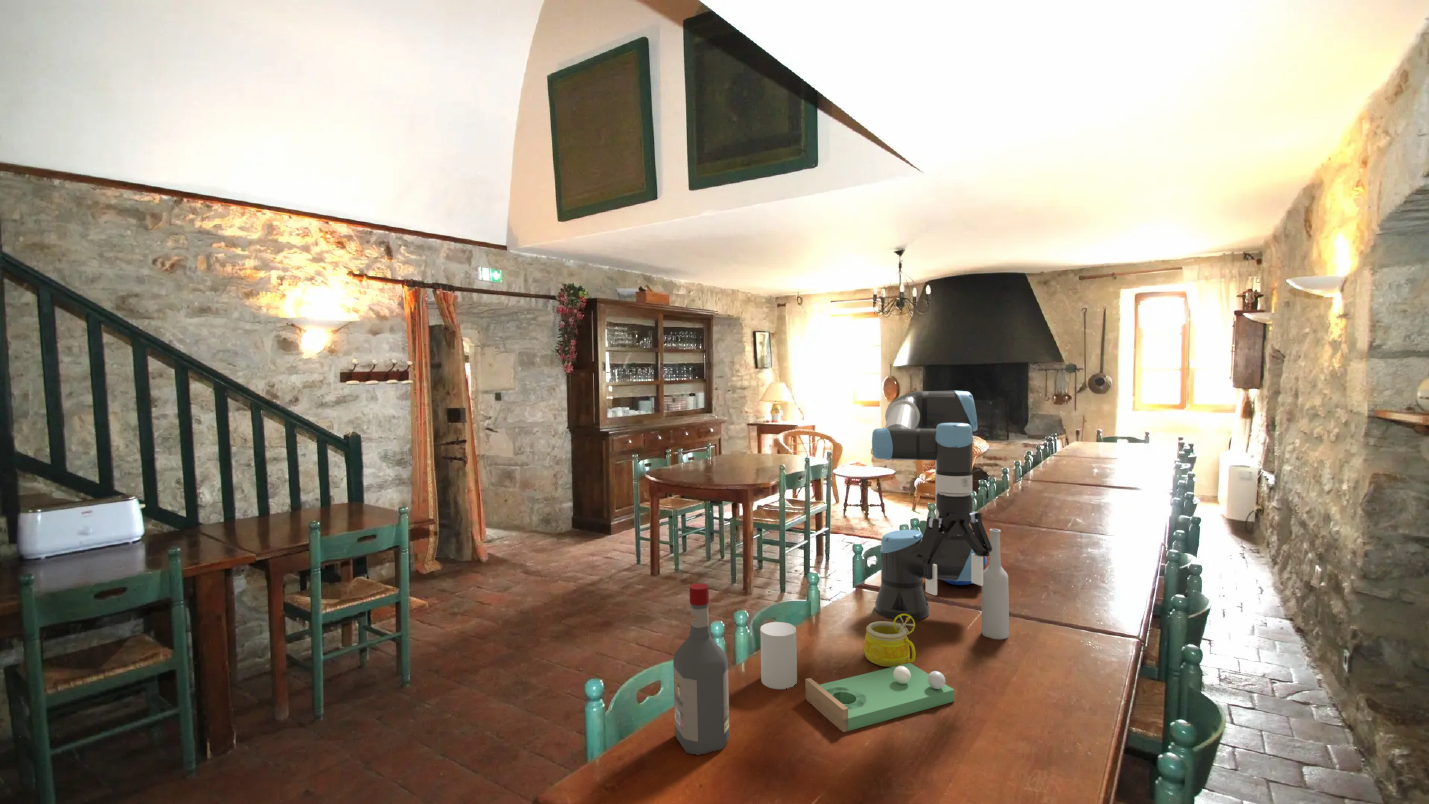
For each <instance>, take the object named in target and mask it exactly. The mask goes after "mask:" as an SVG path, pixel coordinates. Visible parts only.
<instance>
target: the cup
mask: <svg viewBox="0 0 1429 804" xmlns="http://www.w3.org/2000/svg"><path fill="white" fill-rule="evenodd" d="M759 631H760V675H761V676H760V679H761V683H762V684H763V686H764V687H767V688H769V689H772V690H773V689H774V690H786V688H787V689H791V688H793V687H795V686H796V685H797V683H798V668H797V666H798V664H797V663H798V662H797V661H798V660H797V655H798V653H797V652H798V651H797V647H798V646H797V627H796V626H795V625H793V624H791V623H788V622H783V621H771V622H767V623H764V624H763V625H761V626H760V630H759ZM795 684H796V685H795ZM794 685H795V686H794ZM790 687H791V688H790Z"/></svg>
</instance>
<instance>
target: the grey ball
mask: <svg viewBox="0 0 1429 804" xmlns="http://www.w3.org/2000/svg"><path fill="white" fill-rule="evenodd" d="M928 674H929V675H928V683H929V685H930V686H931V687H932V688H934V689H942V688H943V687H944V685H945V684H946V677H945V676H944V674H943V673H942V672H940V671H937V670H933V671H931V672H930V673H928Z"/></svg>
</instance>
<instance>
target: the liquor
mask: <svg viewBox="0 0 1429 804" xmlns="http://www.w3.org/2000/svg"><path fill="white" fill-rule="evenodd" d="M709 594H710V592H709V585H708V584H706V583H700V582H699V583H698V582H697V583H692V584H690V585H689V603H690V630H689V636H687V638H686V640H684V641H683V642H682V644H681V645H680V646H678V648H677V650H676V651H675V653H674V654H673V659H672V661H673V664H672V665H673V666H672V667H673V668H672V669H673V704H674V705H673V706H674V736H675V737H676V739H677V741H678V742H679V744H680V745H681V747H682V749H683V750H684V751H685V753H686V754H689V755H694V754H696V755H695V756H702V755H701V754H703V755H705V754H709V753H713V752H717V751H721V750H724V748H725V746H726V744H727V742H728V741H729V740H730V705H729V704H730V702H729V701H730V697H729V694H730V693H729V691H730V689H729V687H730V686H729V660H728V656H727V654H726V652H725V651H724V650H723V648H721V646H720V645H719V644H718V643H717V642H716V641H715V640H714V639H713V638H712V636H711V631H710V622H709V621H710V620H709V603H710V595H709ZM712 751H713V752H712Z"/></svg>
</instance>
